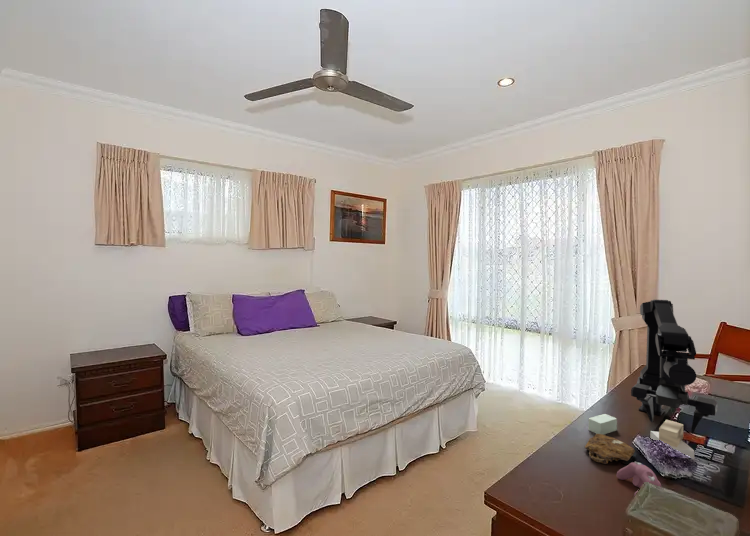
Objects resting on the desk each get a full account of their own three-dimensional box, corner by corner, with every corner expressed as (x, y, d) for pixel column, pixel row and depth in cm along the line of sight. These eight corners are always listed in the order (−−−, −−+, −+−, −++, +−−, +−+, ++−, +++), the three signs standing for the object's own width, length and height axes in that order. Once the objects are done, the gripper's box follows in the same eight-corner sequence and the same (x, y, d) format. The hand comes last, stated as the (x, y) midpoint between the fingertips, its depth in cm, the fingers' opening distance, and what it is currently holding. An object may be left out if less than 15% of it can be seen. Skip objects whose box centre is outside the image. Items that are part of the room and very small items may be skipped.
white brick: (650, 440, 110) (650, 430, 110) (673, 442, 109) (673, 433, 109) (668, 458, 100) (669, 448, 100) (694, 461, 99) (694, 450, 99)
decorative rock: (628, 477, 92) (636, 455, 103) (630, 462, 92) (637, 441, 103) (578, 458, 100) (590, 439, 111) (580, 444, 100) (592, 426, 111)
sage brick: (604, 425, 119) (604, 413, 119) (616, 430, 116) (617, 418, 116) (588, 430, 116) (588, 418, 116) (600, 436, 113) (600, 423, 112)
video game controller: (653, 511, 81) (669, 486, 81) (633, 500, 82) (649, 475, 81) (631, 484, 91) (645, 461, 90) (613, 474, 92) (627, 451, 91)
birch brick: (666, 432, 109) (666, 419, 109) (683, 437, 106) (683, 424, 106) (658, 441, 104) (659, 427, 104) (676, 447, 101) (676, 433, 100)
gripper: (626, 372, 105) (625, 425, 106) (712, 390, 91) (711, 450, 92) (636, 364, 113) (635, 413, 113) (718, 379, 99) (717, 435, 99)
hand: (671, 427), depth 104 cm, fingers open, 9 cm apart
